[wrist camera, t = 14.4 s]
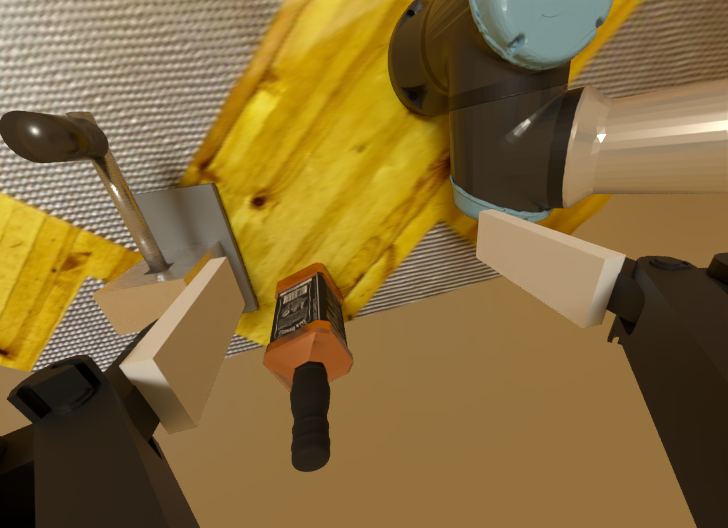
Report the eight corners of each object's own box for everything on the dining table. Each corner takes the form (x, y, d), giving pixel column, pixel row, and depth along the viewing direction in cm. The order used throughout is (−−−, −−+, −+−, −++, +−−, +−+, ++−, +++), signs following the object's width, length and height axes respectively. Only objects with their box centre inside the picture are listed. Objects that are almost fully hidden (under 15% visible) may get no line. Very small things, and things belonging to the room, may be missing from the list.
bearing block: (155, 251, 43) (91, 295, 30) (218, 240, 44) (183, 278, 31) (171, 282, 45) (119, 335, 33) (230, 271, 46) (202, 318, 34)
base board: (118, 196, 40) (112, 198, 38) (214, 182, 41) (210, 183, 40) (184, 321, 50) (181, 325, 49) (258, 305, 52) (257, 310, 51)
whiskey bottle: (300, 319, 55) (291, 506, 27) (273, 284, 51) (229, 463, 22) (343, 297, 55) (381, 461, 26) (320, 260, 50) (337, 409, 22)
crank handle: (65, 116, 28) (-19, 106, 21) (106, 112, 28) (38, 100, 21) (155, 281, 37) (118, 314, 30) (185, 275, 37) (155, 306, 30)
